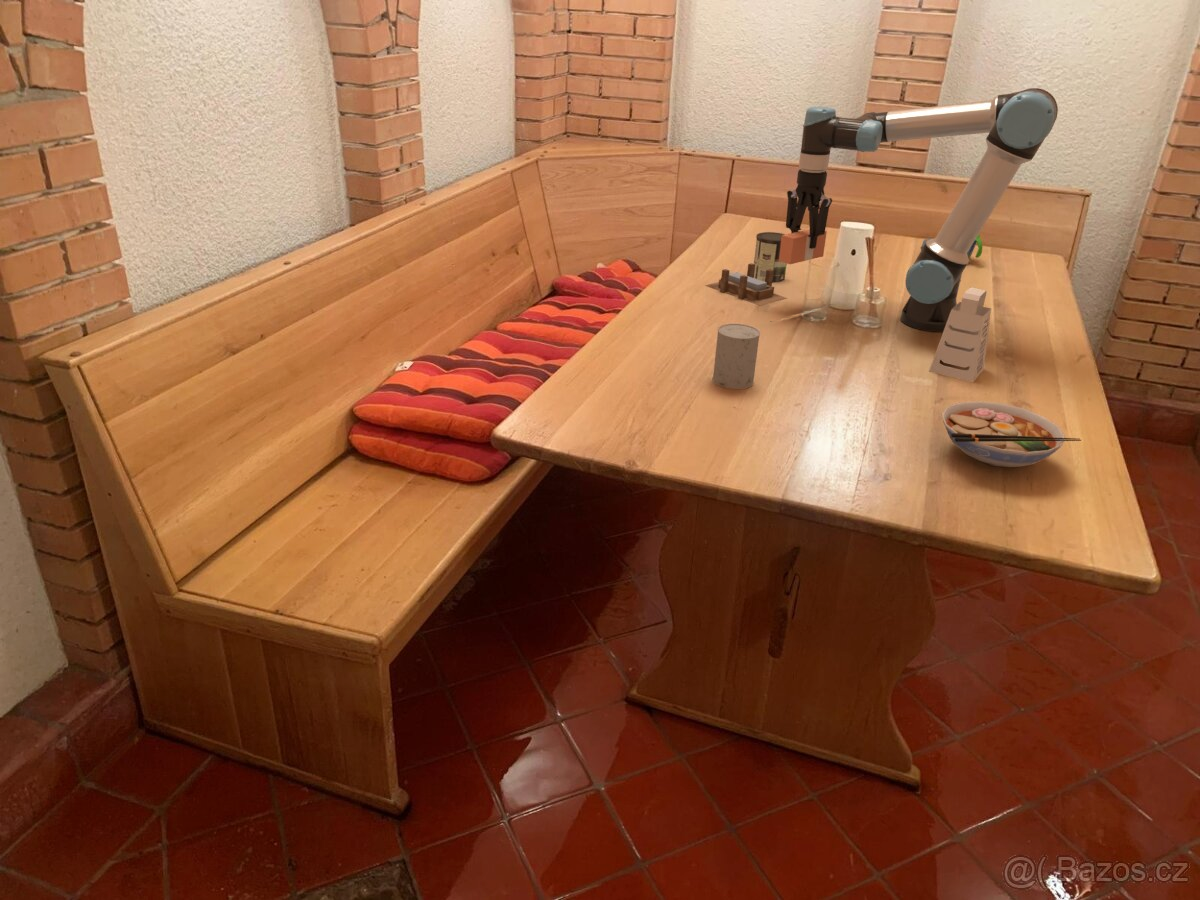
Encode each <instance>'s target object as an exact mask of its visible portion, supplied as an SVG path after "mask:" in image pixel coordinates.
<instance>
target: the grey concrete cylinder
mask: <svg viewBox="0 0 1200 900" xmlns="http://www.w3.org/2000/svg"><path fill="white" fill-rule="evenodd" d="M760 334H761V331H760V330H759V329H758V328H756V327H754V326H751V325H748V324H743V323H727V324H723V325H721V326H719V327H718V328H717V337H716V346H715V354H714V355H715V357H714V365H713V366H714V367H713V373H712V375H713V376H712V381H713V383H714V384H715V385H718V387H722V388H725V389H730V390H744V389H749V388H750V387H752V386H754V384H755V383H754V379H755V371H756V365H757V357H758V351H759V350H758V348H759V342H760V336H761V335H760Z"/></svg>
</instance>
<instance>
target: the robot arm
mask: <svg viewBox="0 0 1200 900" xmlns="http://www.w3.org/2000/svg"><path fill="white" fill-rule="evenodd" d="M805 112H806V113H805V118H804V122H803V126H802V127H803V130H802V138H801V148H800V154H799V160H798V161H799V162H798V168H799V170H798V171H797V178H796V184H797V186H796V188H795V189H792V190H788V191H787V192H786V194H787V208H786V220H785V228H787V229H789V230H790V232H791V233H795V232H800V231H802V228H801V226H802V222H803V219H804V217H805V213H806V210H808V219H809V223H808V224H809V227H808V228H809V229H810V235H808V236H807V240H806V247H805V255H804V260H805V261H804V262H806V261H810V260H813V259H812V257H813V250H814V248H816V244H817V237H818V236H820V235H824V234H825V231H826V229H827V224H828V223H827V221H828V218H829V217H828V216H829V212H830V211H829V210H830V207H831V205H832V203H833V199H832V198H831V197H827V196H826V195H825V190H824V189H825V186H826V183H827V177H828V172H827V170H828V168H829V161H830V155H831V149H840V150H849V151H855V152H856V151H857V152H861V153H864V152H867V153H868V152H869V153H870V152H871V153H874V152H876V151H877V150H878V149H879V147H880V144H881V143H882V144H883V143H888V142H889V143H890V142H900V141H901V142H902V141H911V140H923V139H931V138H933V139H934V138H945V137H955V136H967V135H968V136H969V135H978V134H987V137H986V138H985V142H986V143H985V144H986V147H987V149H986V151H985V153H984V154H983V156H982V158H980V159H981V160H980V162H979V163H978V165H977V166H976V168H975V170H974V171H973V173H972V175H971V177H970V178H969V180H968V182H967V184H966V185H965V187H964V188H963V191H962V192H961V194H960V196H959V197H958V198H957V201H956V202H955V204H954V206H953V207H952V209H951V211H950V213H949V215H948V216H947V218H946V219H945V221H944V223H943V224H942V227H940V230H939V232H938V233H937V235H936V236H935V237H934V238H932V237H931V238H925V239H924V240H923V241H922V244H921V246H920V252H919V254H918V255H917V257H916V259H915V260H914V262H913V264H912V265H910V267H909V268H908V270H907V272H906V274H905V275H906V276H905V288H906V290H907V293H908V294H909V295H910V296H909V298H908V299H907V301H906V303H905V305H904V306H903V308H902V310H901V313H900V319H899V320H900V321H901V322H902V323H903V324H904V325H907V326H908V327H911V328H915V329H918V330H921V331H928V332H940V333H941V332H942V333H943V331H944V328H945V326H946V323H947V320H948V317H949V315H950V312H951V309H952V308H954V307H955V306H956V305H957V304H958V303H957V296H958V292H959V289H960V283H961V279H962V276H963V273H964V270H965V269H966V268H967V266H968V264H969V262H970V260H969V259H968V256H967V252H968V251H969V249H970V247H971V246H972V244H973V242H974V241H975V239H976V238H977V236H978V234H980V232H981V230H982V229H983V227H984V226H985V224H987V221H988V220H989V218H990V216H991V214H992V213H993V211H994V209H995V208H996V206H997V205H998V203H999V201H1000V200H1001V198H1002V196H1003V195H1004V193H1005V191H1006V190H1007V189H1008V187H1009V185H1010V183H1011V182H1012V180H1013V179H1014V177H1015V176H1016V174H1017V172H1018V170H1019V168H1020V167H1021V165H1022V164H1025V163H1029V162H1031V161H1032V160H1033V159H1034V157H1035V155H1036V154H1037V152H1038V151H1039V149H1040V147H1042V144H1043V143H1044V140H1045V139H1046V138H1047V137H1048V136H1049V134H1050V133H1051V131H1052V129H1053V128H1054V126H1055V125H1054V124H1055V123H1056V121H1057V117H1058V114H1059V113H1058V112H1059V107H1058V103H1057V101H1056V99H1055V97H1054V95H1053V94H1051V92H1049V91H1047V90H1046V89H1042V88H1040V87H1039V88H1037V87H1033V88H1027V89H1023V90H1020V91H1016V92H1011V93H1005V94H1004V93H1003V94H997V95H996V96H995V97H994V98H993V99H990V100H981V101H973V102H971V101H970V102H964V103H956V104H946V105H937V106H936V105H935V106H930V107H929V106H927V107H917V108H911V109H901V110H899V109H898V110H891V111H885V112H884V111H883V112H875V111H871V112H866V113H864V114H861V116H859V117H856V118H851V117H850V118H849V117H840V116H837V114H836V113H837V110H836V108H834V107H828V106H810V107H808V108H807V109H806V111H805Z"/></svg>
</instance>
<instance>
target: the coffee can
mask: <svg viewBox="0 0 1200 900" xmlns="http://www.w3.org/2000/svg"><path fill="white" fill-rule="evenodd" d="M782 235H786V233H782V232H773V231H765V232H759V233H757V234H756V237H755V238H756V240H755V241H756V242H755V249H754V257H753V259H754V260H753V264H755V273H754V278H755V279H758V280H761V281H764V282H765V277H766V270H768V269H771V270H774V272H773V279H772V283H781V282H783V281H785V280H786V272H787V266H788V264H787V263H784V262H780V261H779V255H780V246H781V238H782Z"/></svg>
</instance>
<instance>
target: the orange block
mask: <svg viewBox="0 0 1200 900" xmlns="http://www.w3.org/2000/svg"><path fill="white" fill-rule="evenodd" d="M799 231H800V232H795V233H787V234H786V233H785V234H786V235H782V238H781V246H780V255H779V261H780V262H784V263H787V265H793V264H797V263H802V262H806V261H805V260H804V255H805V247H806V240H807V236H808V235H810V228H809V229H806V230H804V229H803V230H799ZM827 233H828V232H827V230H825V234H824V235H820V236H818V237H817V244H816V248H814V250H813V257H812V259H811V260H814V259H817V258H823V257H824V253H825V246H826V240H827Z"/></svg>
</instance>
